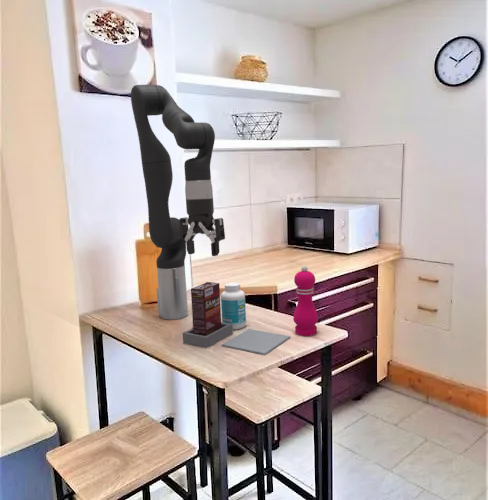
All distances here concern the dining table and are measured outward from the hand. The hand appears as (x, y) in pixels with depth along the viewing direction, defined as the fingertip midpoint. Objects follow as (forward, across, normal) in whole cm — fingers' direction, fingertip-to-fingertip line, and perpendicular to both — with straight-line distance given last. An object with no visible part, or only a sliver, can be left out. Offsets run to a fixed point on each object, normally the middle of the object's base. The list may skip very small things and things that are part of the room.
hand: (203, 254), depth 132 cm
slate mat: (+25, +14, +4) cm, 29 cm away
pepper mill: (+25, +23, +17) cm, 38 cm away
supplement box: (+25, 0, 0) cm, 25 cm away
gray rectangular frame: (+25, 0, 0) cm, 25 cm away
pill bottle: (+25, +1, +12) cm, 28 cm away
